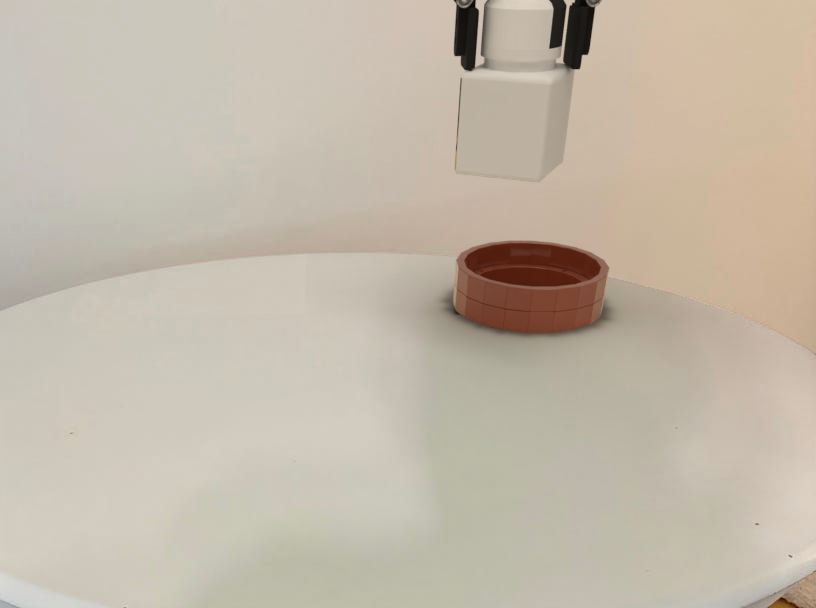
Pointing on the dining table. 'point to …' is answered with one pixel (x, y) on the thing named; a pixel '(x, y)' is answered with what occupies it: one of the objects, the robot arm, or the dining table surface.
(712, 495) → the dining table surface
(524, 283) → the bowl
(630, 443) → the dining table surface
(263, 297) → the dining table surface
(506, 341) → the dining table surface
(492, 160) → the medicine bottle
